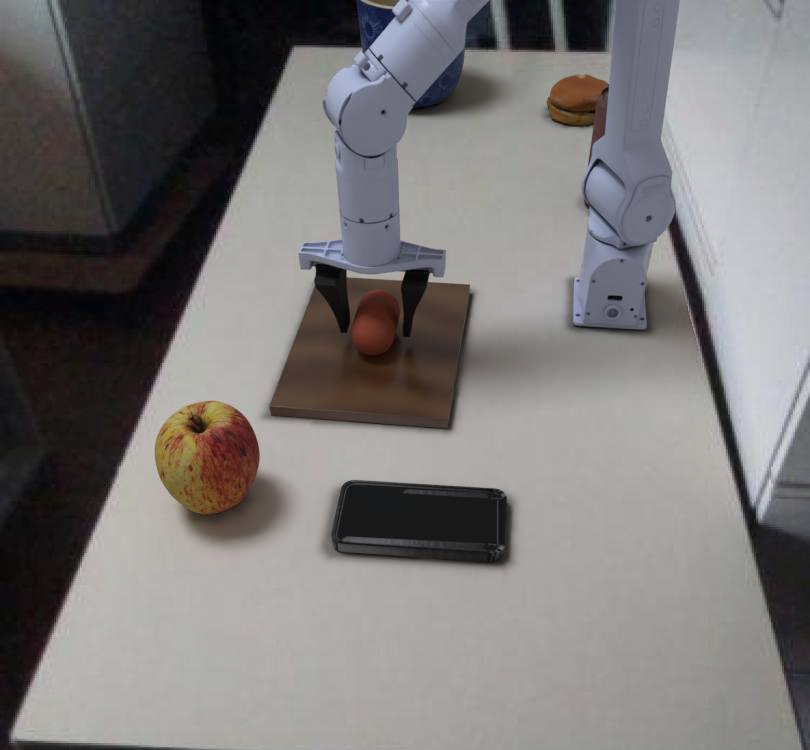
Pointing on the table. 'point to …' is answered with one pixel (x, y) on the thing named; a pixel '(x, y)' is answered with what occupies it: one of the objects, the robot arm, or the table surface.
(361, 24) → the planter
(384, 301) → the sweet potato
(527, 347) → the table surface
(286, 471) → the table surface
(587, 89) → the burger
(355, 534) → the phone
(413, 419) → the board
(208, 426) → the apple
